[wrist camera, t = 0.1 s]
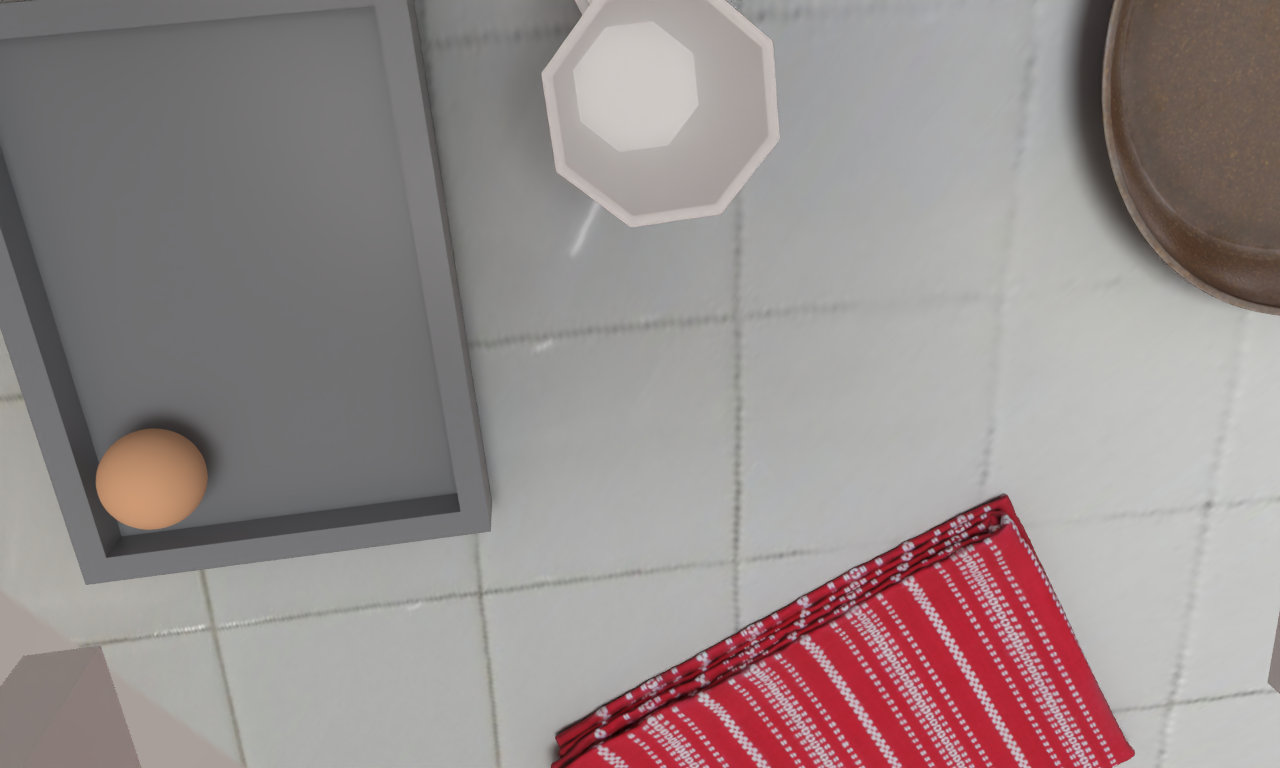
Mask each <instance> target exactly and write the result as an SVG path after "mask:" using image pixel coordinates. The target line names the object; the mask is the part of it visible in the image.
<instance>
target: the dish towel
mask: <svg viewBox="0 0 1280 768" xmlns="http://www.w3.org/2000/svg"><path fill="white" fill-rule="evenodd" d="M555 739H556V741H557V742H558V744H559V747H560V750H559V756H560V758H561V759H560V760H558V761H556V762H553V763H552V765H551V768H1113V767H1115V766H1117V765H1119V764H1120V763H1122V762H1125V761H1127V760H1129V759H1130V758H1132V757H1133V756H1134V755H1135V751H1134V749H1133V748H1132V747H1131V746H1130V745H1129V743H1128V742H1127V741H1126V740H1125V738H1124V736H1123V733H1122V731H1121V729H1120V728H1119V725H1118V723H1117V722H1116V719H1115V718H1114V716H1113V714H1112V711H1111V710H1110V707H1109V705H1108V703H1107V701H1106V699H1105V697H1104V695H1103V693H1102V692H1101V690H1100V688H1099V686H1098V683H1097V681H1096V679H1095V677H1094V675H1093V673H1092V670H1091V668H1090V666H1089V664H1088V662H1087V660H1086V658H1085V656H1084V654H1083V652H1082V649H1081V648H1080V646H1079V643H1078V641H1077V639H1076V637H1075V634H1074V632H1073V630H1072V627H1071V625H1070V623H1069V621H1068V619H1067V617H1066V614H1065V612H1064V610H1063V608H1062V605H1061V604H1060V602H1059V600H1058V598H1057V596H1056V594H1055V592H1054V590H1053V587H1052V585H1051V583H1050V581H1049V579H1048V577H1047V575H1046V573H1045V571H1044V568H1043V566H1042V564H1041V563H1040V561H1039V559H1038V557H1037V554H1036V552H1035V550H1034V548H1033V546H1032V544H1031V541H1030V539H1029V538H1028V536H1027V534H1026V532H1025V529H1024V527H1023V525H1022V524H1021V523H1020V520H1019V518H1018V517H1017V516H1016V513H1015V511H1014V508H1013V505H1012V503H1011V501H1010V499H1009V497H1008V495H1006V494H1002V495H1001V496H1000V497H999V499H998V500H996V501H993V502H990V503H987V504H985V505H982V506H980V507H978V508H976V509H974V510H971V511H969V512H966V513H964V514H961V515H959V516H957V517H955V518H954V519H952V520H950V521H948V522H946V523H944V524H942V525H940V526H938V527H936V528H934V529H932V530H930V531H929V532H927V533H924V534H922V535H920V536H918V537H916V538H913V539H911V540H908V541H905V542H903V543H902V544H901V545H900V546H899V547H897V548H895V549H893V550H891V551H889V552H887V553H885V554H883V555H881V556H878V557H877V558H875V559H873V560H871V561H869V562H867V563H865V564H862V565H860V566H858V567H855V568H853V569H851V570H850V571H848V572H847V573H845V574H843V575H841V576H840V577H838V578H836V579H834V580H832V581H831V582H829V583H827V584H825V585H823V586H821V587H820V588H818V589H816V590H815V591H813V592H811V593H809V594H806V595H804V596H801V597H800V598H799V599H798V600H796V601H795V602H793V603H792V604H790V605H789V606H787V607H785V608H783V609H781V610H779V611H777V612H775V613H774V614H772V615H770V616H768V617H767V618H765V619H763V620H761V621H758V622H756V623H754V624H751V625H749V626H748V627H747V628H745V629H744V630H742V631H740V632H739V633H737V634H735V635H733V636H732V637H730V638H728V639H726V640H724V641H722V642H720V643H718V644H716V645H714V646H713V647H711V648H709V649H707V650H705V651H703V652H700V653H699V654H697V655H696V656H695V657H694V658H692V659H690V660H688V661H686V662H684V663H682V664H680V665H678V666H676V667H674V668H672V669H670V670H668V671H666V672H665V673H663V674H661V675H659V676H657V677H655V678H652V679H650V680H648V681H647V682H646V683H644V684H642V685H641V686H639V687H638V688H636V689H634V690H632V691H630V692H628V693H627V694H625V695H623V696H622V697H620V698H618V699H616V700H614V701H613V702H611V703H609V704H607V705H605V706H603V707H601V708H600V709H598V710H597V711H596V712H595V713H593V714H592V715H591V716H589V717H588V718H586V719H585V720H583V721H582V722H580V723H578V724H576V725H574V726H572V727H571V728H569V729H567V730H565V731H564V732H562V733H561V734H559V735H557V736H556V737H555Z"/></svg>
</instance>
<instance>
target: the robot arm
mask: <svg viewBox="0 0 1280 768" xmlns="http://www.w3.org/2000/svg"><path fill="white" fill-rule="evenodd" d="M1268 683H1269V684H1270V685H1271V686H1272V687H1273V688H1274V689H1275V690H1276V691H1277V692H1279V693H1280V613H1279V619H1278V625H1277V630H1276V636H1275V642H1274V648H1273V654H1272V660H1271V665H1270V671H1269V677H1268ZM0 768H141V766H140V762H139V760H138V757H137V753H136V751H135V748H134V745H133V741H132V738H131V735H130V733H129V729H128V726H127V723H126V721H125V718H124V714H123V711H122V708H121V705H120V702H119V699H118V696H117V693H116V690H115V687H114V684H113V681H112V678H111V675H110V672H109V669H108V666H107V663H106V660H105V657H104V654H103V651H102V648H101V646H93V647H86V648H79V649H71V650H64V651H57V652H50V653H42V654H35V655H27V656H23V657H22V658H21V660H20V661H19V662H18V664H17V665H16V666H15V668H14V669H13V670H12V672H11V673H10V674H9V676H8V677H7V678H6V680H5V681H4V682H3V684H2V685H1V686H0Z"/></svg>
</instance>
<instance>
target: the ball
mask: <svg viewBox="0 0 1280 768" xmlns="http://www.w3.org/2000/svg"><path fill="white" fill-rule="evenodd" d="M207 480H208V473H207V467H206V463H205V460H204V458H203V456H202V454H201V453H200V451H199V450H198V448H197V447H196V446H195V445H194V444H193V443H192V442H191V441H190V440H188V439H187V438H185V437H184V436H182V435H180V434H178V433H176V432H173V431H169V430H164V429H155V428H152V429H143V430H138V431H135V432H132V433H130V434H128V435H125V436H123V437H122V438H120V439H119V440H117V441H116V442H115V443H114V444H113V445H112V446H110V448H109V449H108V450H107V451H106V452H105V454H104V455H103V457H102V459H101V461H100V463H99V466H98V469H97V473H96V489H97V493H98V496H99V499H100V501H101V503H102V505H103V506H104V508H105V509H106V510H107V512H108V513H109V514H110V515H111V516H113V517H114V518H115V519H116V520H118V521H120V522H121V523H123V524H125V525H128V526H130V527H134V528H138V529H145V530H153V529H161V528H166V527H169V526H172V525H174V524H176V523H178V522H180V521H182V520H183V519H185V518H186V517H188V516H189V515H190V514H191V513H192V512H193V511H194V510H195V509H196V508H197V506H198V505H199V504H200V502H201V500H202V498H203V496H204V494H205V491H206V487H207Z"/></svg>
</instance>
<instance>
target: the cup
mask: <svg viewBox="0 0 1280 768" xmlns="http://www.w3.org/2000/svg"><path fill="white" fill-rule="evenodd" d="M574 1H575V3H576V5H577V6H578V8H579V10H580V12H581V14H582V17H581V18H580V20H579V21H578V22H577V24H576V25H575V27H574V28H573V29H572V31H571V32H570V34H569V35H568V36H567V38H566V39H565V41H564V42H563V43H562V45H561V46H560V48H559V49H558V50H557V52H556V53H555V55H554V56H553V58H552V59H551V60H550V62H549V63H548V65H547V66H546V67H545V69H544V70H543V72H542V73H541V76H542V82H543V89H544V96H545V102H546V109H547V115H548V122H549V128H550V135H551V141H552V148H553V155H554V161H555V168H556V172H557V173H559V174H560V175H561V176H563V177H564V178H565V179H567V180H568V181H569V182H571V183H572V184H573V185H575V186H576V187H577V188H579V189H580V190H581V191H583V192H584V193H585V194H587V195H588V196H589V197H591V198H592V199H593V200H595V201H596V202H597V203H599V204H600V205H601V206H603V207H604V208H605V209H607V210H608V211H609V212H611V213H612V214H613V215H615V216H616V217H617V218H619V219H620V220H621V221H623V222H624V223H625V224H627V225H628V226H629V227H637V226H644V225H651V224H658V223H664V222H671V221H678V220H685V219H692V218H698V217H705V216H712V215H719V214H722V212H723V211H724V210H725V209H726V207H727V206H728V205H729V203H730V202H731V201H732V200H733V198H734V197H735V196H736V195H737V193H738V192H739V191H740V189H741V188H742V187H743V186H744V184H745V183H746V182H747V181H748V179H749V178H750V177H751V175H752V174H753V173H754V172H755V170H756V169H757V168H758V167H759V165H760V164H761V163H762V161H763V160H764V159H765V158H766V156H767V155H768V154H769V153H770V151H771V150H772V149H773V147H774V146H775V145H776V144H777V142H778V141H779V140H780V135H779V121H778V107H777V93H776V78H775V64H774V50H773V41H772V40H770V39H769V38H768V37H767V36H766V35H765V34H764V33H762V32H761V31H760V30H759V29H758V28H757V27H755V26H754V25H753V24H752V23H751V22H750V21H749V20H747V19H746V18H745V17H744V16H743V15H742V14H740V13H739V12H738V11H737V10H736V9H735V8H734V7H732V6H731V5H730V4H729V3H728V2H727V1H725V0H574Z"/></svg>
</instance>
